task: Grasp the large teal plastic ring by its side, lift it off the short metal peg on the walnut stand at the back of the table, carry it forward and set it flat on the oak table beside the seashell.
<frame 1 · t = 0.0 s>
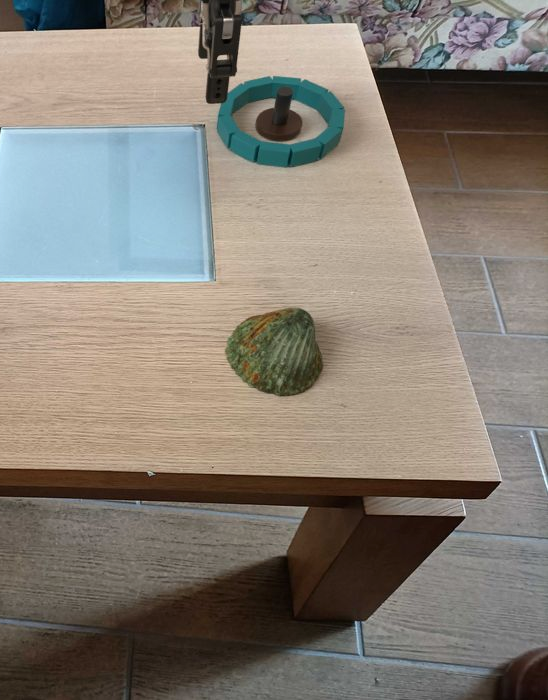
hand: (211, 78, 74), 14 cm above the table, tool pointing down, fingers open, 8 cm apart
seashell: (275, 354, 70), on the table
ring: (278, 127, 90), on the table
peg stand: (278, 127, 90), on the table
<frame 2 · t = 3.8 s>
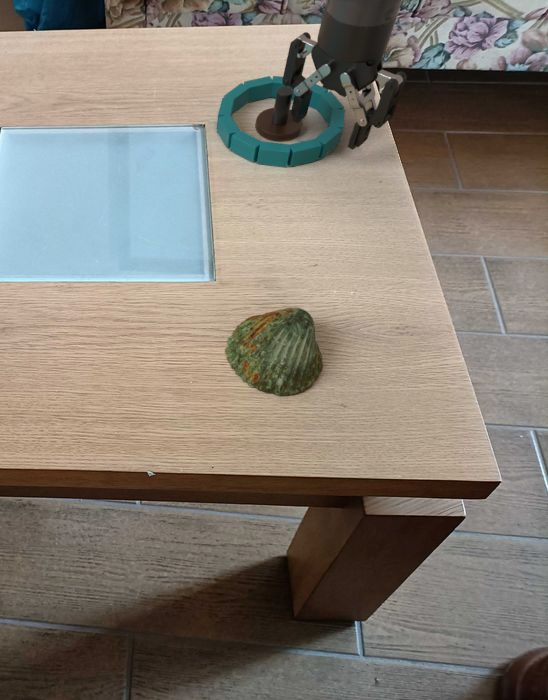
hand: (325, 131, 85), 3 cm above the table, tool pointing down, fingers open, 7 cm apart
nothing on the table moved.
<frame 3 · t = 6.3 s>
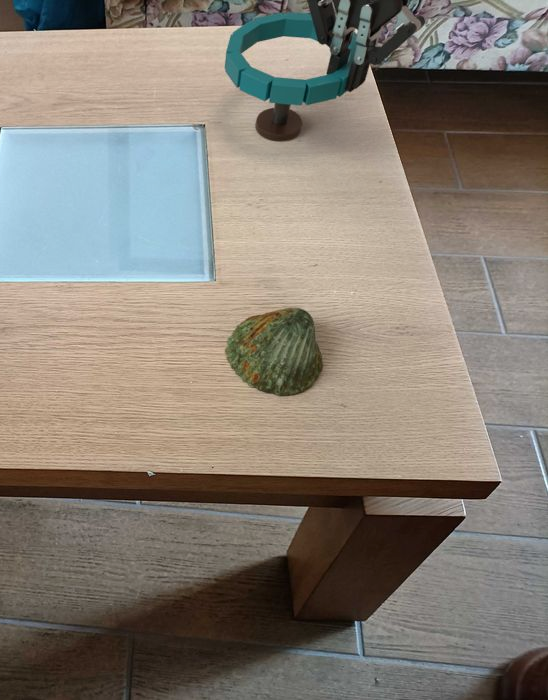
hand: (343, 84, 79), 9 cm above the table, tool pointing down, fingers closed on ring, 1 cm apart
ring: (291, 65, 83), point 9 cm above the table, touching gripper
everything else where it was.
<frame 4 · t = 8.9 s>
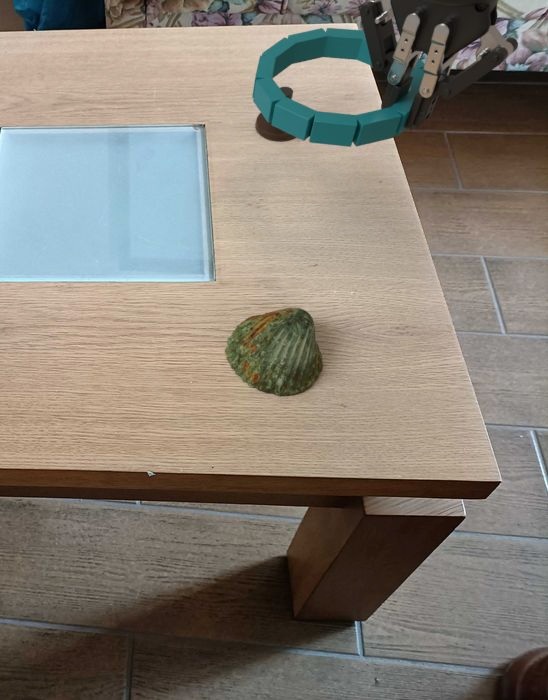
hand: (401, 119, 64), 17 cm above the table, tool pointing down, fingers closed on ring, 1 cm apart
ring: (335, 94, 67), point 16 cm above the table, touching gripper
everything else where it was.
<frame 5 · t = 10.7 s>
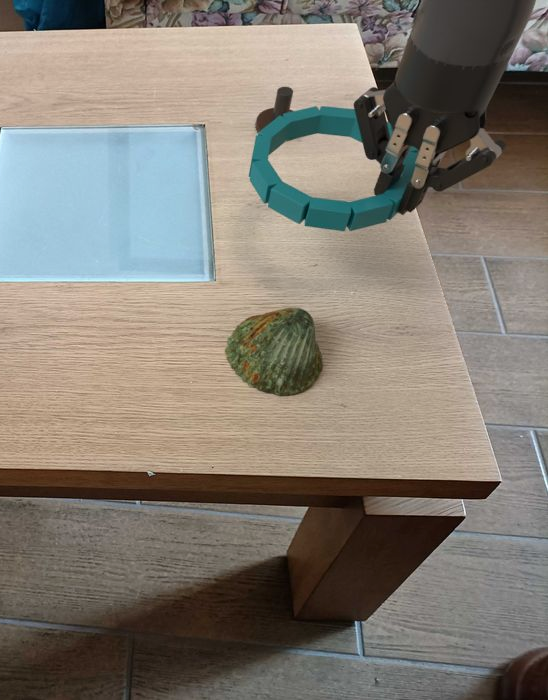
hand: (393, 203, 66), 11 cm above the table, tool pointing down, fingers closed on ring, 1 cm apart
ring: (329, 174, 69), point 11 cm above the table, touching gripper
everything else where it was.
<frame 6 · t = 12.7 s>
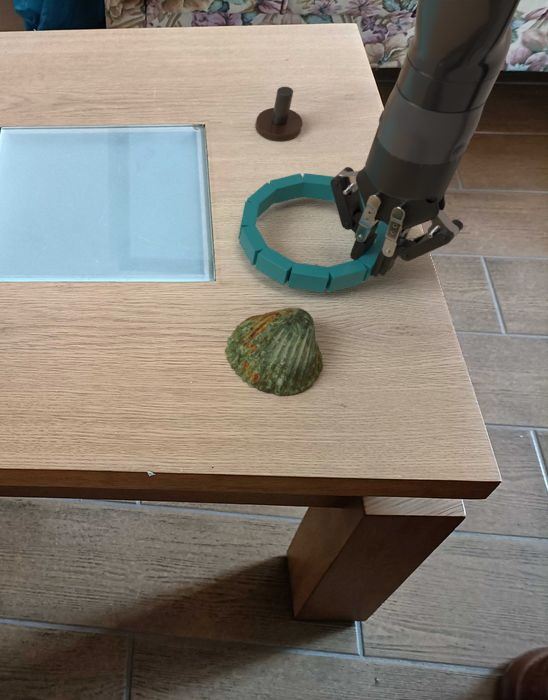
hand: (368, 266, 73), 2 cm above the table, tool pointing down, fingers closed on ring, 1 cm apart
ring: (311, 237, 77), point 1 cm above the table, touching gripper
everything else where it was.
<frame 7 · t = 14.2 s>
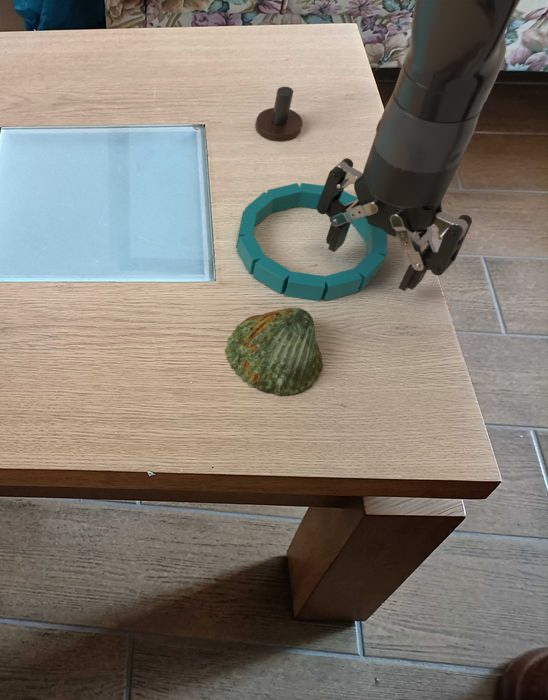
hand: (369, 265, 73), 2 cm above the table, tool pointing down, fingers open, 8 cm apart
ring: (308, 246, 78), on the table
everything else where it was.
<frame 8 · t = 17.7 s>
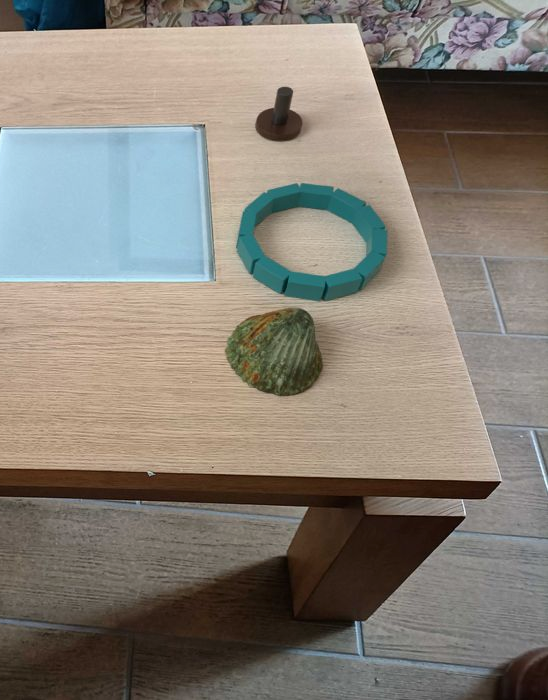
nothing on the table moved.
at the end: ring inside the target area (0.1 cm from its centre), on the table; ring 16.0 cm from the seashell (horizontally); ring touching table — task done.
